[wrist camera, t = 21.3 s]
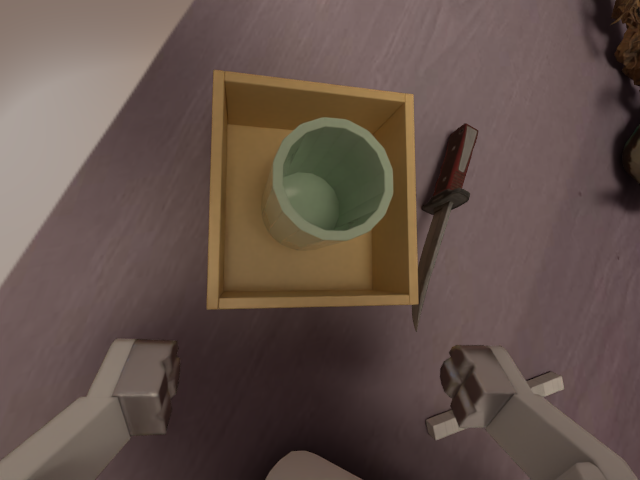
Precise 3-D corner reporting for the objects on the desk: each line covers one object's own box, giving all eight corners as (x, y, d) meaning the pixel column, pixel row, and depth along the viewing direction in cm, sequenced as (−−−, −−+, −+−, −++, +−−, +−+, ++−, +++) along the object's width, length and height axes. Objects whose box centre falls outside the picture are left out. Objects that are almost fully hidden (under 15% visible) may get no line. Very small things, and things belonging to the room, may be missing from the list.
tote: (214, 299, 25) (206, 309, 18) (219, 119, 26) (213, 68, 19) (376, 296, 27) (418, 304, 21) (374, 133, 29) (413, 94, 22)
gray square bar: (564, 388, 29) (553, 384, 30) (561, 375, 29) (551, 371, 30) (435, 440, 26) (428, 433, 27) (432, 426, 26) (425, 419, 27)
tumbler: (260, 250, 25) (272, 239, 16) (261, 165, 26) (273, 111, 17) (343, 251, 26) (394, 241, 18) (342, 171, 27) (392, 123, 18)
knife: (392, 324, 27) (425, 335, 23) (377, 317, 27) (407, 328, 22) (462, 139, 30) (504, 114, 25) (449, 132, 30) (489, 105, 25)
